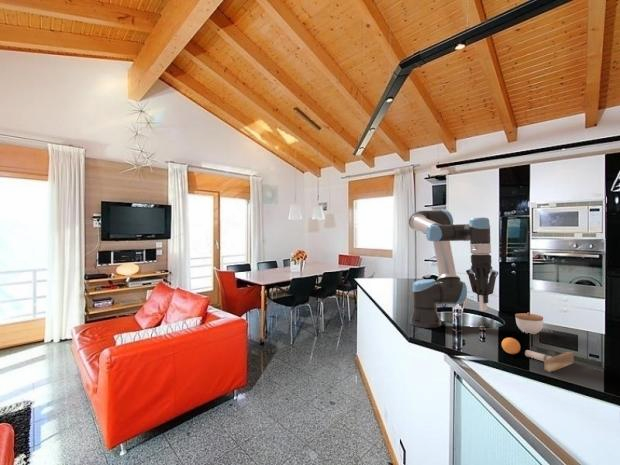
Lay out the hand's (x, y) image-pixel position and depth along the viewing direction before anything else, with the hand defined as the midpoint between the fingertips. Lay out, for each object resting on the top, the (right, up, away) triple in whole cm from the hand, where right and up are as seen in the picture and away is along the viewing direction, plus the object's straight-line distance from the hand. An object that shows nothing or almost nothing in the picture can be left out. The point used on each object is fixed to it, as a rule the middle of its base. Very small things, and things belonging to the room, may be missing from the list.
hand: (483, 310), depth 126 cm
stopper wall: (+12, -13, -24) cm, 30 cm away
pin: (+8, -12, -14) cm, 20 cm away
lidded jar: (+31, -15, +16) cm, 38 cm away
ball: (+4, -11, -11) cm, 16 cm away
